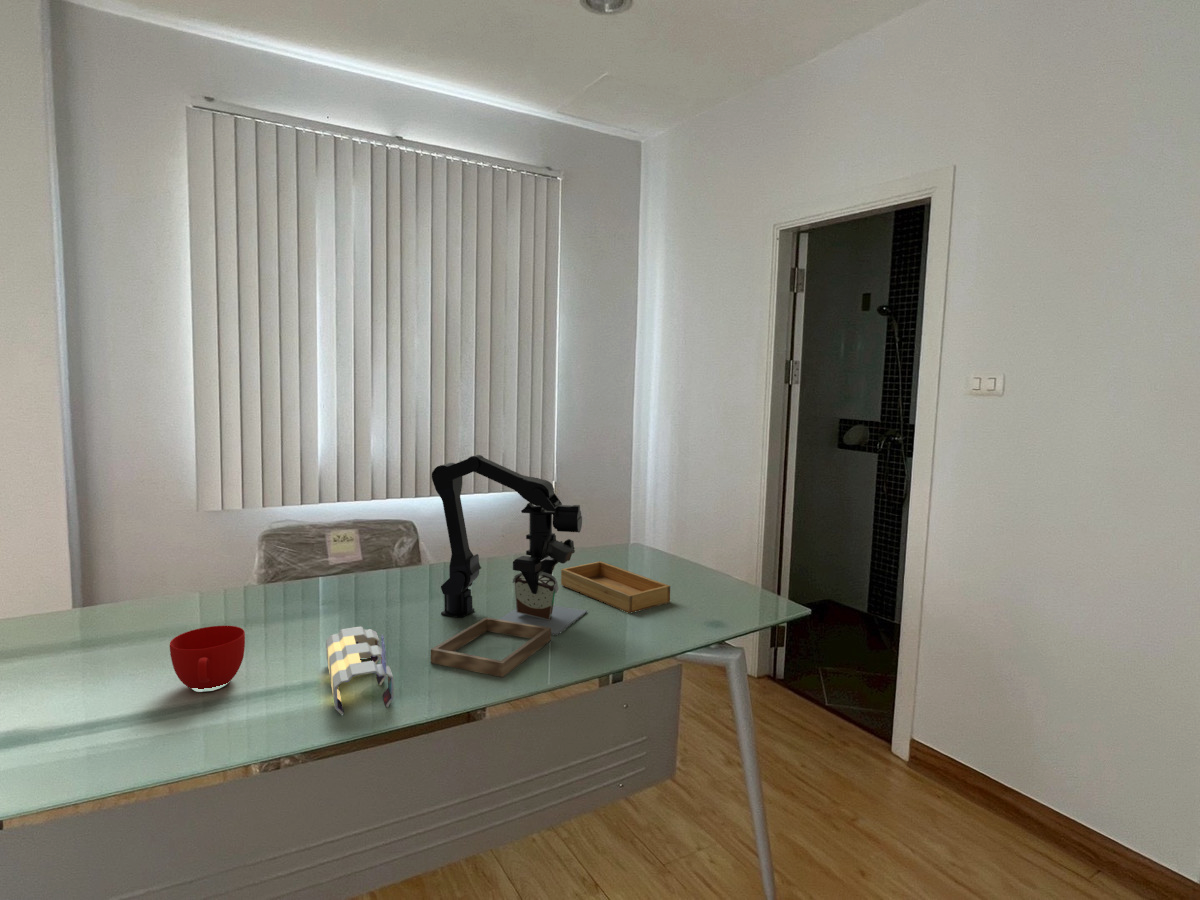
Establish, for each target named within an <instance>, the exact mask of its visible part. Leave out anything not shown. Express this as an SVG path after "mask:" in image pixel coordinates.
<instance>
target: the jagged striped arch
mask: <svg viewBox="0 0 1200 900" xmlns="http://www.w3.org/2000/svg"><path fill="white" fill-rule="evenodd" d="M378 635H379V634H378V633H377V631H375V630H374V629H372V628H370V629H369V628H368V629H365V627H363V626H353V627H348V628H341V629H340V630H339V631H338V633H333V634H331V635H330V636H328V637H327V638H326V639H325V642H326V643H325V644H326V645H325V646H326V660H327V661H326V662H327V667H328V672H329V680H330V685H331V692H332V697H333V703H334V709H335V710H336V711H337V712H338V713H339V714H340V716H341V715H342V714H344V709H343V702H342V697H341V692H340V687H339V686H340V685H341V684H342V683H349V682H350V681H351V679H352V678H353V677H357V676H361V675H368V674H376V676H377V677H376V679H378V680H377V683H378V682H379V683H378V685H379V686H380V685H381V686H382V684H383V683H384V681H386V679H387V688H386V690H385V691H384V693H383V694H382V699H383V698H384V699H383V701H384V705H385V707H386V708H389V706H390V704H392V702H393V700H394V698H395V694H394V693H395V692H394V691H395V689H394V688H395V687H394V676H393V673H392V670H391V667H390V666H389V665H388V664H387V657H386V656H387V655H386V654H387V650H386V644H385V641H384V639H385V637H384V634H381V635H380V636H381V639H380V638H379V636H378ZM380 641H381V642H380ZM380 645H381V646H380ZM370 657H371V659H370V660H367V661H362V660H360V659H361V658H370ZM371 660H372V661H371ZM379 661H380V663H378V662H379Z"/></svg>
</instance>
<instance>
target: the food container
mask: <svg viewBox="0 0 1200 900" xmlns="http://www.w3.org/2000/svg"><path fill="white" fill-rule="evenodd" d="M512 584H514V595H515V605H516V606H515V607H516V608H515V609H517V613H521V614H525V615H529V616H533V617H537V618H541V619H545V620H549V621H550V619H551V616H552V610H553V605H554V602H555V597H556V596H555V595H556V594H557V593H558V591H559V585H558V581H557V579H556V577H555V576H553V574H552V575H551V574H548V573H545V572H541V573H540V574H539V581H538V589H537V594H533V593H532V592H531V590H530V588H529V586H528V583H527V581H526V580H525V578H524V576H523V574H522V573H521V572H520V573H517V574H515V575H514V577H513V578H512Z"/></svg>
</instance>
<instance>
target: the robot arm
mask: <svg viewBox="0 0 1200 900" xmlns="http://www.w3.org/2000/svg"><path fill="white" fill-rule="evenodd" d="M471 473H476V474H479V475H480V476H482V477H484V478H487V479H489V480H491V481H493V482H496V483H499V484H500V485H502V486H505V487H506V488H508V489H511V490H513V491H515V492H516V493H517V494H518V495H520V497H521V498H523V499H524V500H526V501H527V502H528V503H527V504H526V505H525V507H524V508H523V509H522V510H521V511H520V512H521V513H522V514H529V515H528V516H529V517H528V519H529V525H528V526H529V527H528V528H529V531H528V532H529V533H528V534H525V537H526V538H525V539H526V540H528V541H529V543H528V544H529V549H528V550H526V551H525V555H521V556H518V557H517V558H515V559H514V561H512V571H517V572H520V573H522V574H523V576H524V578H525V580H526V581H527V583H528V586H529V588H530V590H531V592H532V593H533V594H537V589H538V581H539V574H540V573H541V572H545V573H548V574H551V575H552V576H553V572H554V569H555V567H556V566H557V564H559V563H560V564H565V563H567V562H569V561H571V558H572V555H574V553H575V551H576V550H575V546H574V545H575V543H574V540H572V539H571V538H568V539H566V540H565V541H562V540H558V539H557V535H556V533H555V532H553V530H556V531H557V532H561V533H564V532H567V533H581V531H582V525H583V516H582V511H581V505H580V504H572V505H567V504H563V502H562V501H561V500H560V499H559V497H558V496H557V494H556V493H555V489H554V486H553V484H552V482H550V481H549V480H546V479H543V478H539V477H533V476H527V475H523V474H521V473H518V472H516V471H515V470H513V469H510V468H508V467H505V466H503V465H502V464H499V463H497V462H494V461H492V460H490V459H488V458H486V457H484V456H483V455H481V454H475V455H472V456H469V457H468V458H466V459H464V460H461V461H458V462H456V463H455V462H447V463H444V464H441V465H437V466H436V467H435V468H433V470H432V472H431V480H432V484H433V486H434V490H435V491H436V493H437V494H438V496H439V498H440V499H441V501H442V505H443V512H444V518H445V523H446V527H447V535H448V540H449V545H450V546H449V547H450V551H451V554H450V561H449V578H448V579H447V580H446V581H444V583H443V584H441V586H440V590H441V593H442V594H443V595H444V596H443V597H444V599H443V601H444V610H443V611H441V612H440V615H442V616H447V617H455V618H459V619H460V618H464V617H466V616H467V615H468V614H471V613H472V612H473V613H474V612H475V608H473V595H472V589H470V587H472V586H473V583H474V581H476V580H477V578H478V577H479V576H480V570H481V569H482V567H481V564H480V558H479V557H480V556H479V554H478V553H477V554H474V553H473V552H472V551H471V549H470V546H469V541H468V540H469V538H468V533H467V528H466V521H465V518H464V517H465V516H464V510H463V504H462V500H461V499H462V498H461V493H462V488H463V477H464V476H467V475H469V474H471ZM553 528H554V529H553Z"/></svg>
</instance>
